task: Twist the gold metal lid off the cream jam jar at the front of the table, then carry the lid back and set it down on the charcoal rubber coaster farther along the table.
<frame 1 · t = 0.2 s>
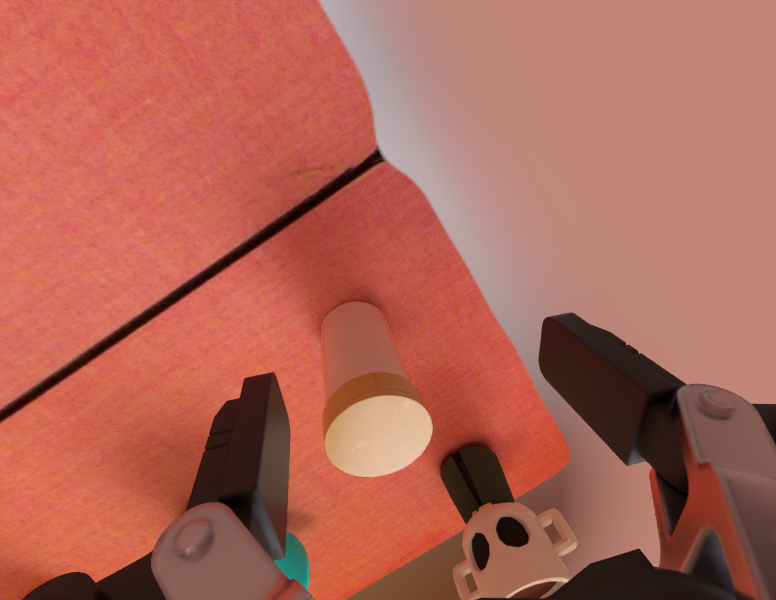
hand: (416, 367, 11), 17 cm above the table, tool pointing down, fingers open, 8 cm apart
lid: (378, 433, 20), point 11 cm above the table, screwed on, not yet turned
character mug: (466, 461, 39), on the table
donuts: (244, 514, 36), on the table
jar: (354, 331, 29), on the table
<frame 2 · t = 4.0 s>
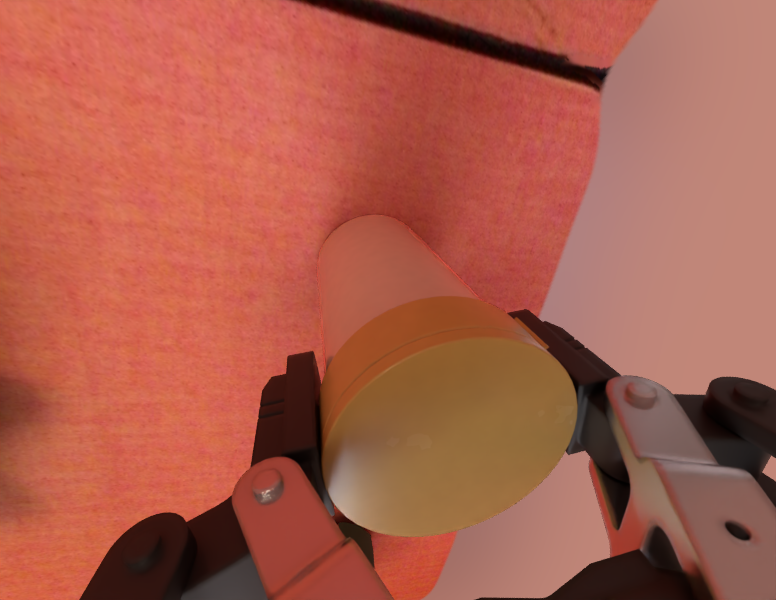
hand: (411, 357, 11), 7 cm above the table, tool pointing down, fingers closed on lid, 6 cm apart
lid: (450, 438, 8), point 11 cm above the table, screwed on, not yet turned, touching gripper
character mug: (327, 540, 26), on the table
jar: (372, 269, 18), on the table
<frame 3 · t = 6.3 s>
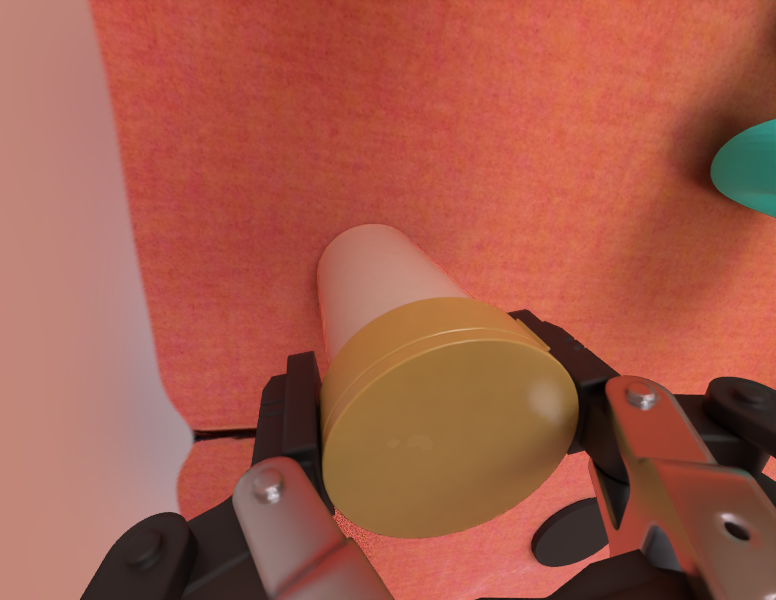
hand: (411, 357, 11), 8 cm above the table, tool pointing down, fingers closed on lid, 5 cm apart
lid: (451, 439, 8), point 11 cm above the table, off its thread, touching gripper, jar
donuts: (772, 104, 19), on the table
jar: (371, 277, 18), on the table, touching lid
coaster: (575, 530, 34), on the table
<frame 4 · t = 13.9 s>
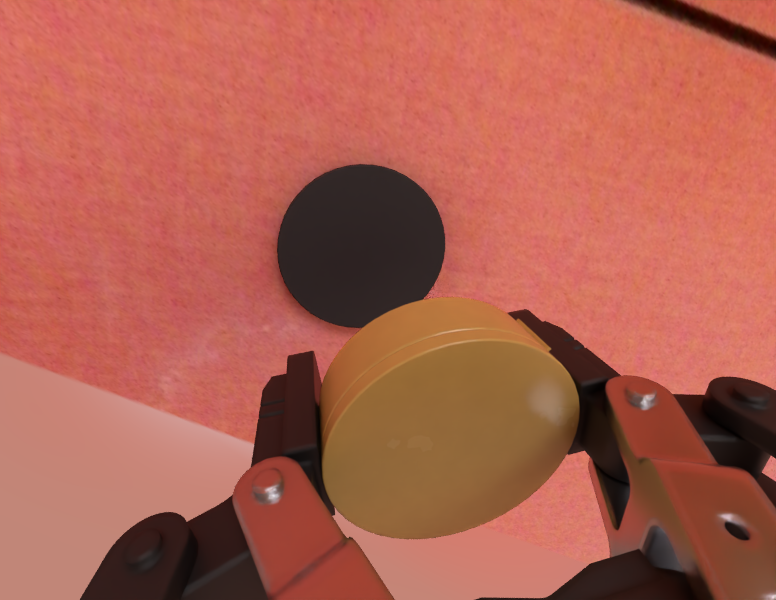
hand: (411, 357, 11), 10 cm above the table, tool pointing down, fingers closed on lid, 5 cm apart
lid: (451, 440, 8), point 13 cm above the table, off its thread, touching gripper
coaster: (363, 251, 20), on the table
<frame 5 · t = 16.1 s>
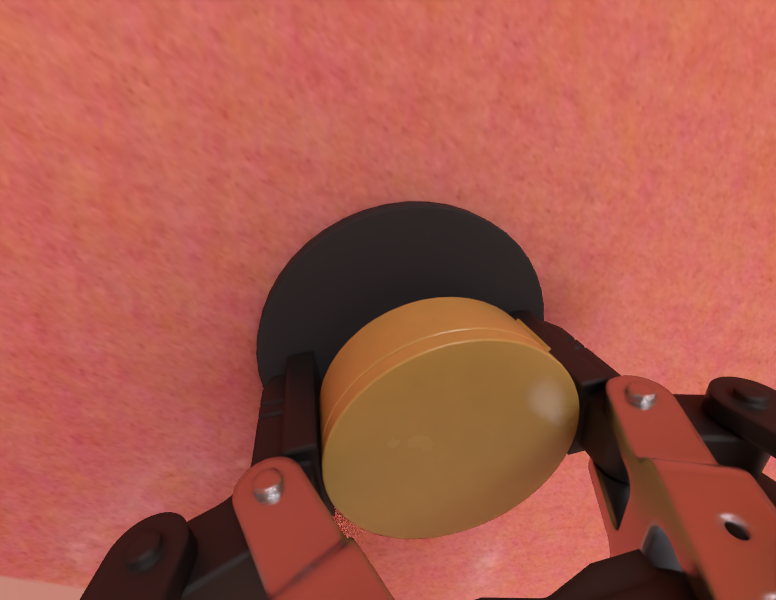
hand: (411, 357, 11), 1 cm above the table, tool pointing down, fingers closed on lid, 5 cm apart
lid: (451, 439, 8), point 4 cm above the table, off its thread, touching gripper
coaster: (405, 342, 12), on the table
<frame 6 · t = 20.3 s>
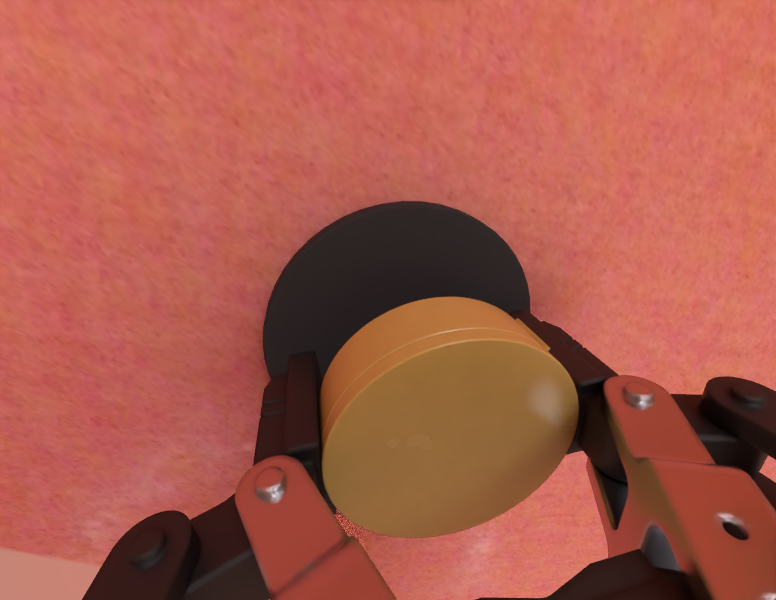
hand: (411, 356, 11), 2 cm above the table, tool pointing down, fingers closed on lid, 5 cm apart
lid: (450, 439, 8), point 5 cm above the table, off its thread, touching gripper
coaster: (401, 333, 13), on the table
when the fingers open (2 cm above the table, at t = 24.1 s): lid drops 3 cm, resting on coaster.
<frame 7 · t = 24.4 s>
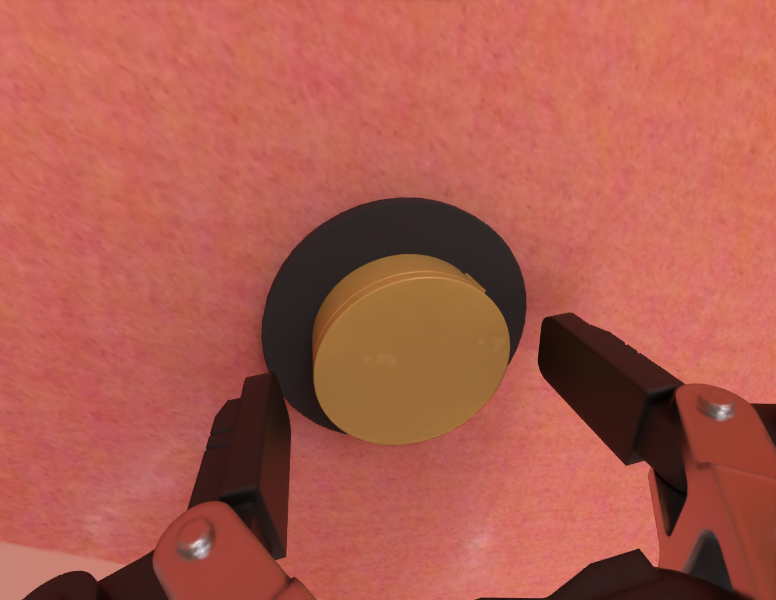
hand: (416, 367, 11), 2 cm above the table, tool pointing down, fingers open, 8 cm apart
lid: (412, 362, 11), point 2 cm above the table, off its thread, touching coaster
coaster: (398, 328, 13), on the table
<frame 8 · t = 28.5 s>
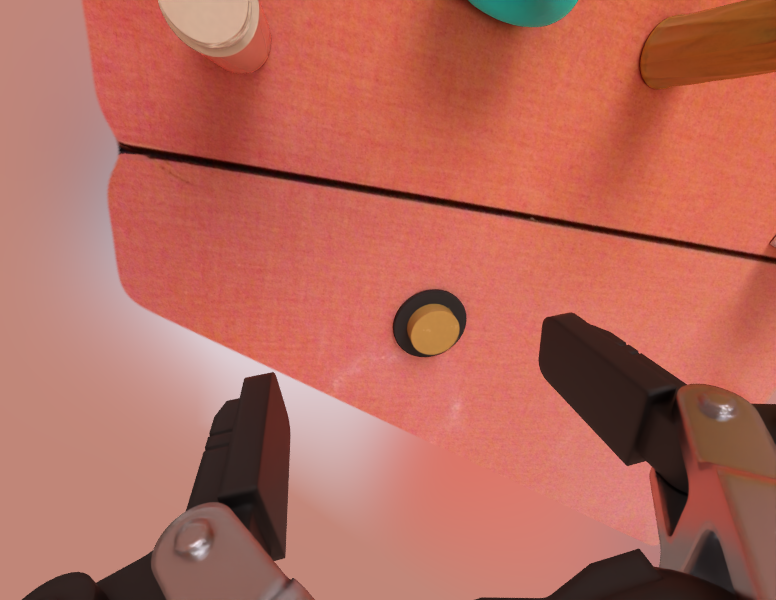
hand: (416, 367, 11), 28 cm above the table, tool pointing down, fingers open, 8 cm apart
lid: (434, 331, 42), point 2 cm above the table, off its thread, touching coaster
vase: (665, 54, 36), on the table
jar: (235, 33, 29), on the table
coaster: (429, 323, 44), on the table
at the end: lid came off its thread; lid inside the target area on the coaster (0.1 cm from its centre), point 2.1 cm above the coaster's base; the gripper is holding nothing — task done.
